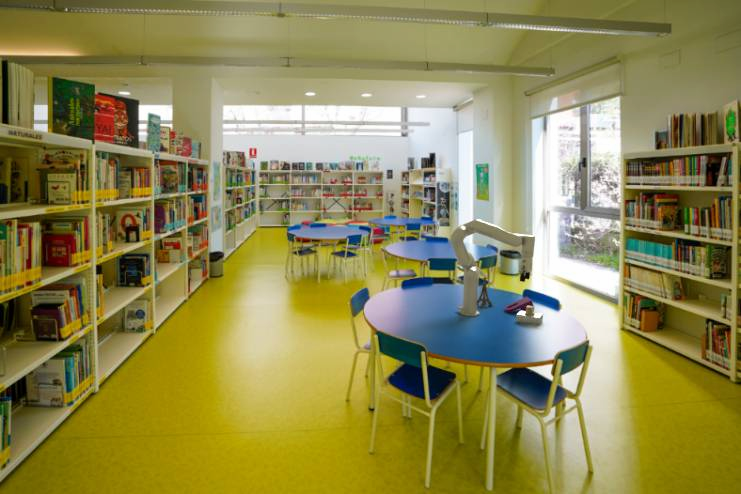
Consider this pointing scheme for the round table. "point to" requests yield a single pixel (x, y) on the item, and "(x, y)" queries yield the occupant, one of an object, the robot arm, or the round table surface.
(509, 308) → the maroon shoe
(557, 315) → the round table surface
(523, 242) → the robot arm
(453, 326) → the round table surface
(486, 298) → the eiffel tower
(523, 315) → the collar block
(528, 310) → the wedge pin
